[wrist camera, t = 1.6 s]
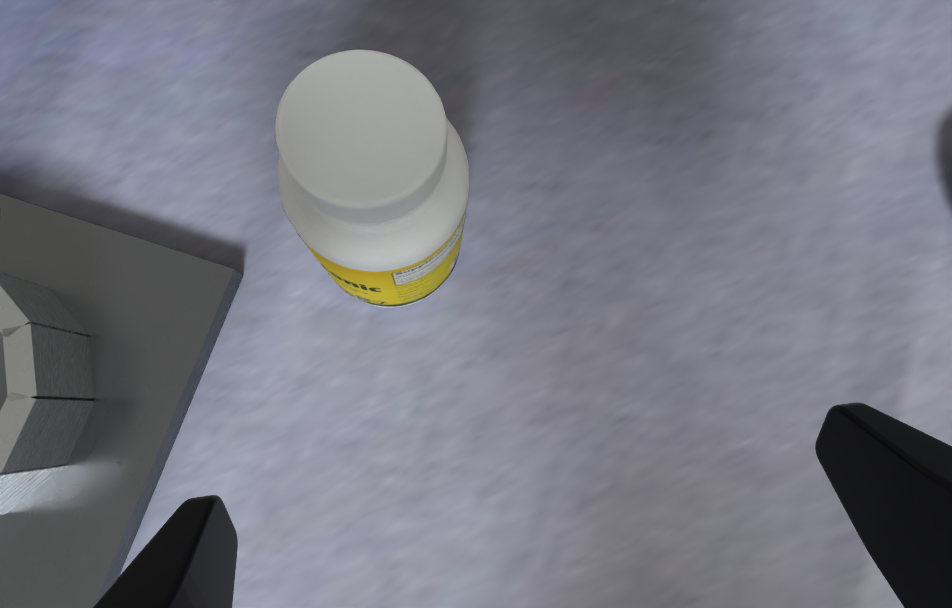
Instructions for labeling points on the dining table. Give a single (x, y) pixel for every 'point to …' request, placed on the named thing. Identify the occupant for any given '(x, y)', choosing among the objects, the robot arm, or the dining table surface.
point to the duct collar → (90, 393)
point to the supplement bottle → (373, 175)
